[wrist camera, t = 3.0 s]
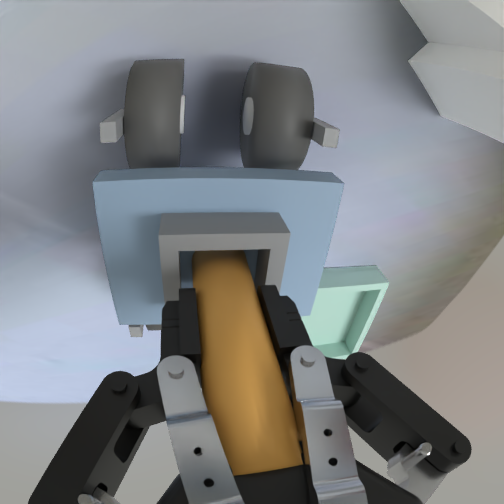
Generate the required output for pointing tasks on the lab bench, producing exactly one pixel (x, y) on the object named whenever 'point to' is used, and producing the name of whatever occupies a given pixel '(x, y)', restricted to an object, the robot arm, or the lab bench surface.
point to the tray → (344, 309)
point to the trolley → (214, 192)
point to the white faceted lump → (463, 60)
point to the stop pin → (241, 367)
